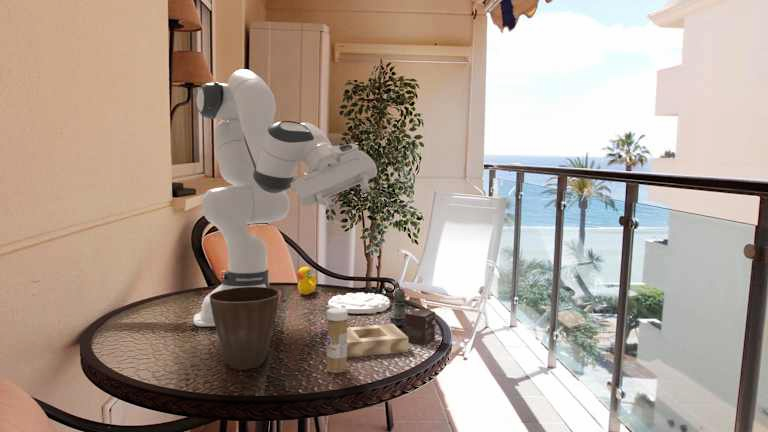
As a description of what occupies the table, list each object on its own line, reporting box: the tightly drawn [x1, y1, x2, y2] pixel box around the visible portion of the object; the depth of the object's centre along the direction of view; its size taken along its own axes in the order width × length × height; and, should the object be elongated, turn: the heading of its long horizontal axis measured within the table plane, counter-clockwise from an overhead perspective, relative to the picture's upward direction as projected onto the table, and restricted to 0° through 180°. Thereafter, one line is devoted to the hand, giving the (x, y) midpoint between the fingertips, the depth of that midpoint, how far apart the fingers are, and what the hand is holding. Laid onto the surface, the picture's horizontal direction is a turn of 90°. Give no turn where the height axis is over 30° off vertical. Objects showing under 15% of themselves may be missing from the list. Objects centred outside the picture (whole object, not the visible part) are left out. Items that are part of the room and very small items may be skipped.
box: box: [404, 308, 436, 345], centre depth 134 cm, size 6×6×7 cm
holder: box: [347, 323, 409, 358], centre depth 128 cm, size 16×12×4 cm
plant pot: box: [210, 287, 280, 371], centre depth 115 cm, size 15×15×16 cm
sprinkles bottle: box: [325, 308, 349, 374], centre depth 112 cm, size 5×5×13 cm
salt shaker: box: [388, 285, 406, 332], centre depth 143 cm, size 6×6×12 cm
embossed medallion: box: [327, 291, 390, 315], centre depth 167 cm, size 20×20×3 cm
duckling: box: [296, 266, 317, 296], centre depth 184 cm, size 11×5×10 cm, turn 160°
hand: (348, 198), depth 120 cm, fingers open, 8 cm apart
